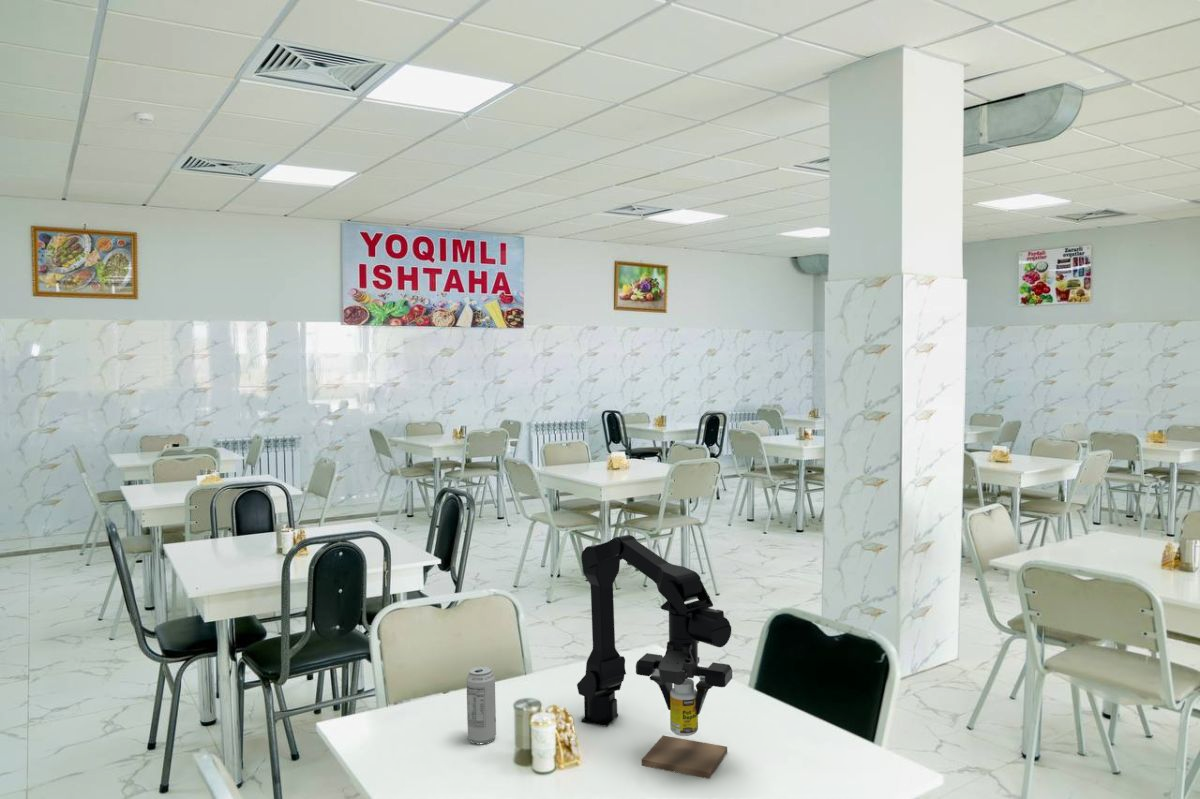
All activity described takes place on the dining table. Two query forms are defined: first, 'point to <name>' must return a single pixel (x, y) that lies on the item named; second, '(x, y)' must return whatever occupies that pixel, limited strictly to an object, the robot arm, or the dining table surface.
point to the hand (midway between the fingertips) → (684, 711)
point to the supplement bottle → (683, 709)
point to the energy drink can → (481, 705)
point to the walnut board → (685, 756)
